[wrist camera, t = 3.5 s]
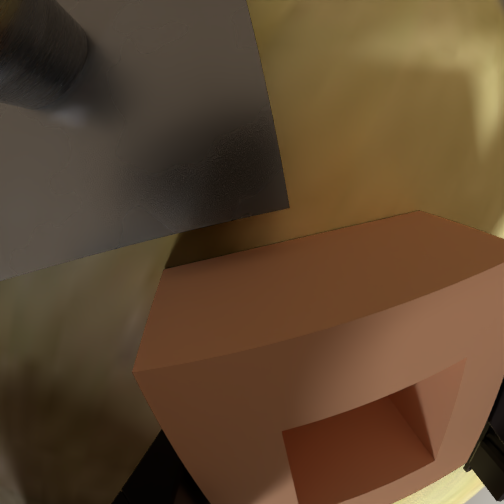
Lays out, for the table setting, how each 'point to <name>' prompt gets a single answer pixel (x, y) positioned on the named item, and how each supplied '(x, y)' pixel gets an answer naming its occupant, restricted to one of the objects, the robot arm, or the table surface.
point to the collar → (329, 361)
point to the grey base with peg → (128, 125)
